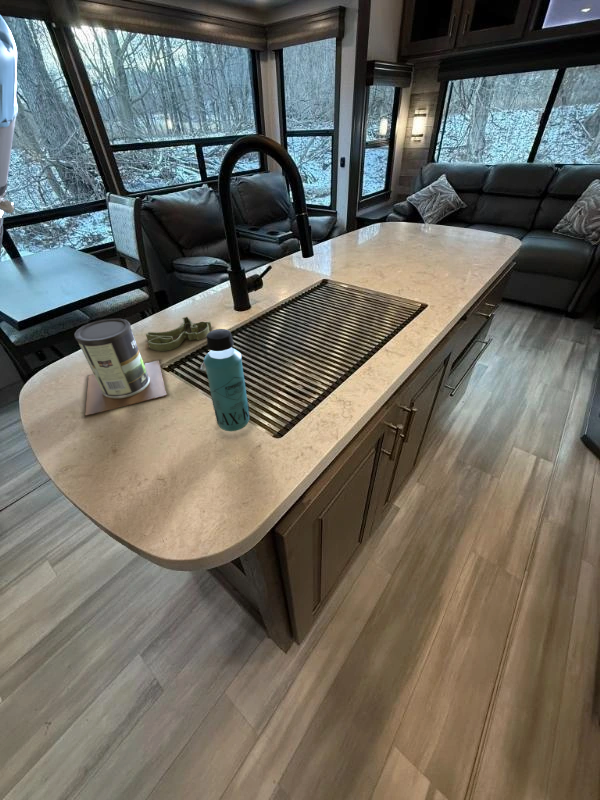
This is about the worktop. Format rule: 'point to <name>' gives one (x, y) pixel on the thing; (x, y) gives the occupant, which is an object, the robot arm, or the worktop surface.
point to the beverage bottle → (226, 381)
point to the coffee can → (113, 357)
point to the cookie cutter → (165, 339)
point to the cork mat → (102, 403)
